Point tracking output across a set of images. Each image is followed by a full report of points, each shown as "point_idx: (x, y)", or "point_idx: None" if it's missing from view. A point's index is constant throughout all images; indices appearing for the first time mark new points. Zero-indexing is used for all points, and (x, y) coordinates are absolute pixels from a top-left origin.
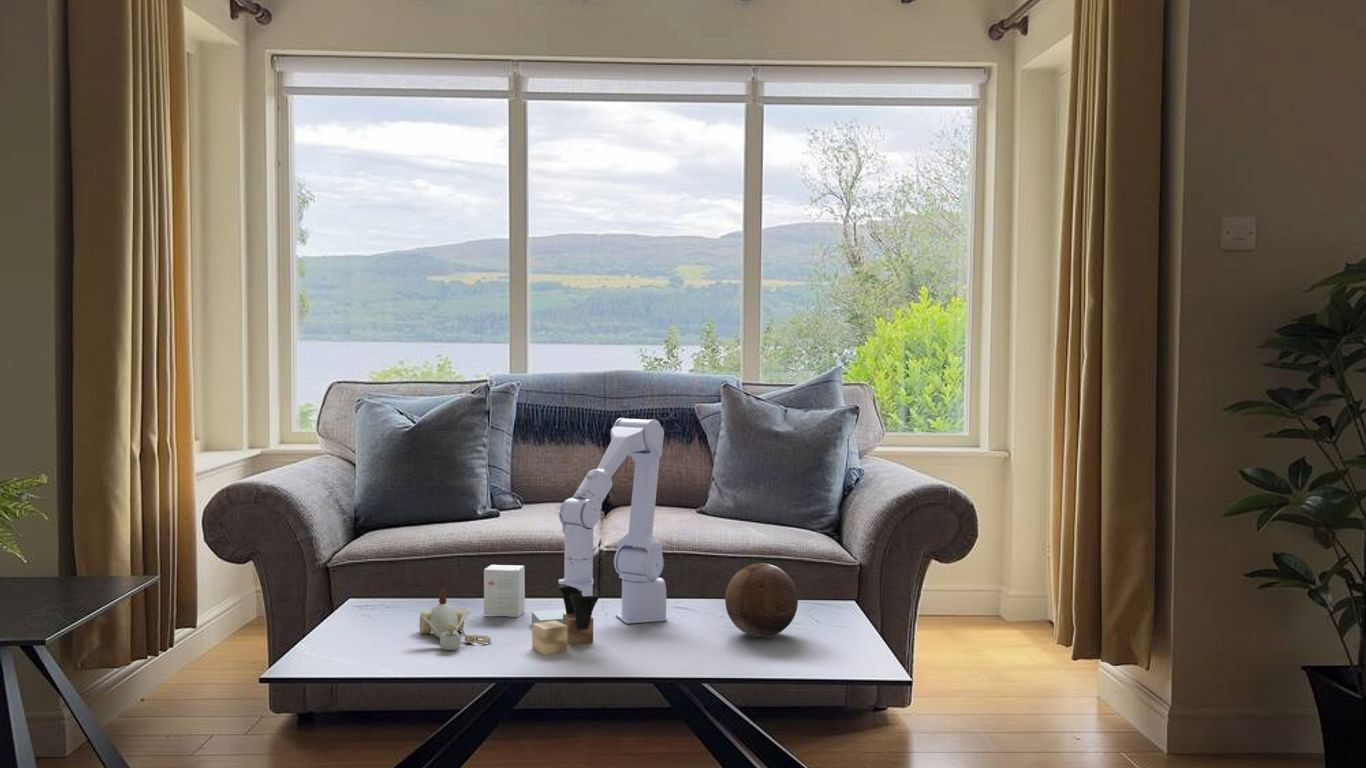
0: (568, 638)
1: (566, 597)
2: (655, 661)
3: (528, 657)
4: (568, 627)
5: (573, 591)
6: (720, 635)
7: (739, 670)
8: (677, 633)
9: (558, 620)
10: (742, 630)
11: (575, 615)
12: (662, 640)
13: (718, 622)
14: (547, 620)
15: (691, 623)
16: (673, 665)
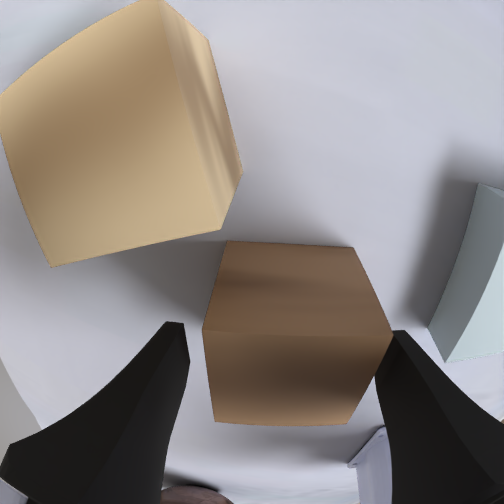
0: (233, 255)
1: (446, 443)
2: (42, 367)
3: (72, 24)
4: (226, 292)
5: (427, 497)
6: (215, 477)
7: (34, 410)
8: (251, 462)
9: (479, 290)
10: (183, 489)
11: (137, 378)
12: (202, 440)
13: (294, 488)
14: (501, 242)
15: (310, 476)
16: (29, 374)
